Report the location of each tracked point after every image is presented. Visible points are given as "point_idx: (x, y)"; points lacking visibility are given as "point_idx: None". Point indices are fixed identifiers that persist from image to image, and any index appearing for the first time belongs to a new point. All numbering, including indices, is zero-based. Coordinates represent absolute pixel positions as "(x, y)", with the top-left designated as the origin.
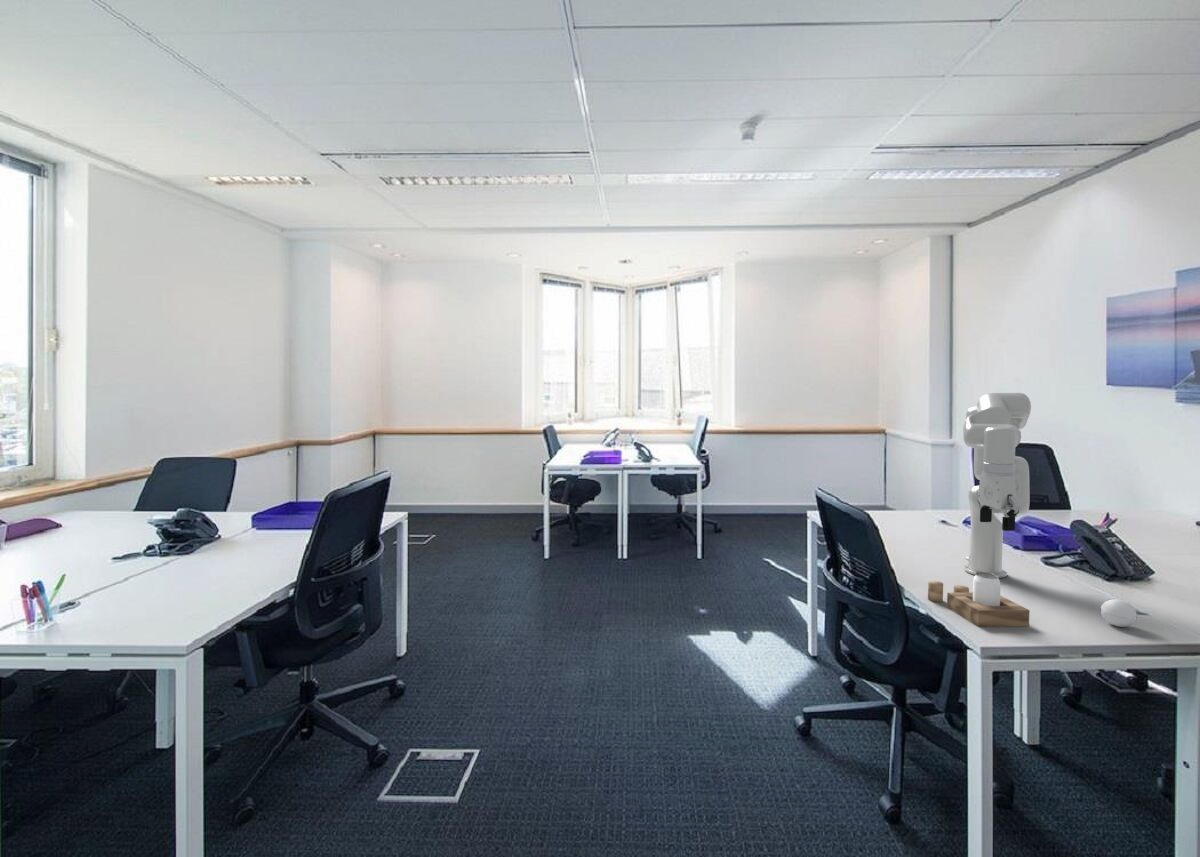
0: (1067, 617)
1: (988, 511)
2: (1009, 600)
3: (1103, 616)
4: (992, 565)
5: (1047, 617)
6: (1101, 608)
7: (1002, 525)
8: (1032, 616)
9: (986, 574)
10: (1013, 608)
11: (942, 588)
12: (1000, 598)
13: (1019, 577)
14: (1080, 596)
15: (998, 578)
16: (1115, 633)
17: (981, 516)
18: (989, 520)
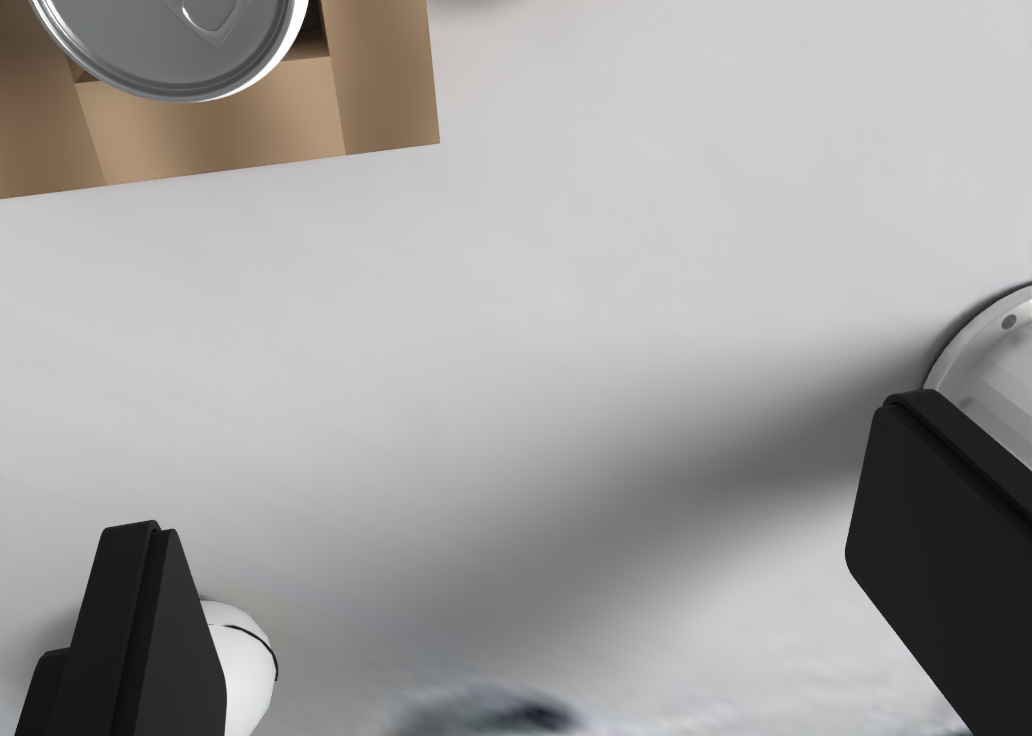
0: (285, 461)
1: (1008, 695)
2: (237, 161)
3: (203, 606)
4: (996, 422)
5: (261, 358)
6: (220, 635)
7: (129, 600)
8: (262, 278)
9: (237, 3)
10: (5, 83)
11: None
12: (281, 112)
13: None
14: (616, 635)
15: (110, 77)
16: (66, 569)
17: (969, 473)
18: (864, 551)
